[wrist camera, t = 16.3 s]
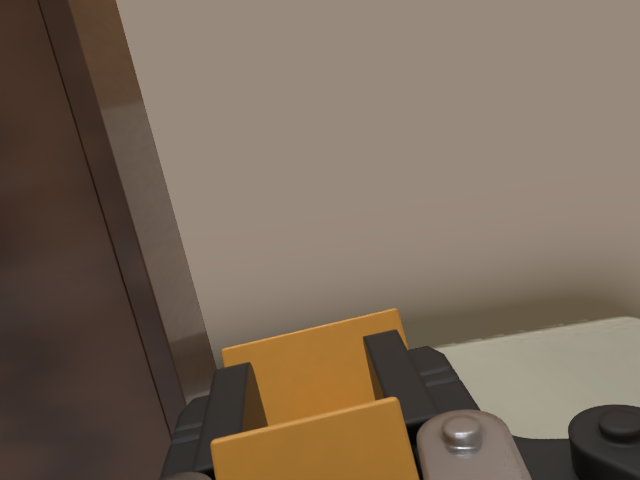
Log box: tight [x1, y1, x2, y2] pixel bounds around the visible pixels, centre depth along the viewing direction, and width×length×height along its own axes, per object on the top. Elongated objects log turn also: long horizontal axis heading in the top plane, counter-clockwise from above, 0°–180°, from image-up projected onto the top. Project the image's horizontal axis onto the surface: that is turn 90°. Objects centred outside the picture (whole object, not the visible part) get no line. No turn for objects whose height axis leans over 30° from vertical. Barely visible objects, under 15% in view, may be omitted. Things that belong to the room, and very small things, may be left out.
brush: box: [210, 308, 419, 480], centre depth 16 cm, size 5×18×5 cm, turn 4°
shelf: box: [0, 0, 217, 480], centre depth 31 cm, size 14×9×32 cm, turn 94°
